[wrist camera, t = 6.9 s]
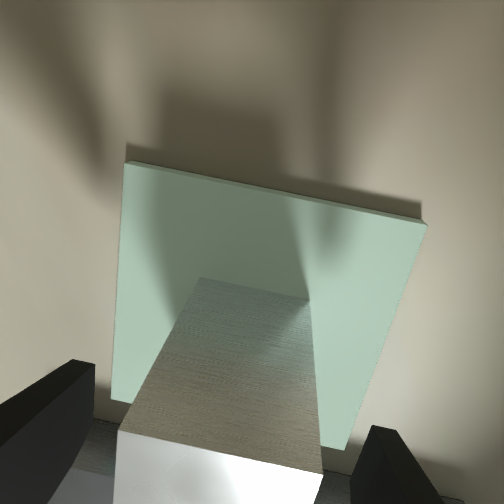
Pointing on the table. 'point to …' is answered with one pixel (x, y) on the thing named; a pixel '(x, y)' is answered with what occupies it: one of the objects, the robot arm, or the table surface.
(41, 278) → the table surface
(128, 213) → the rubber pad
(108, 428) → the plate with square hole
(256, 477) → the steel peg
